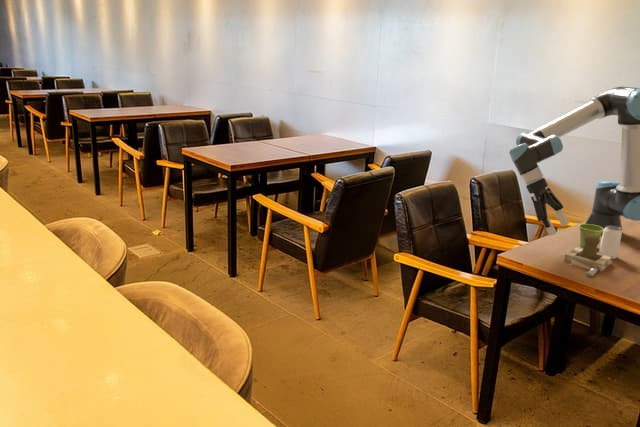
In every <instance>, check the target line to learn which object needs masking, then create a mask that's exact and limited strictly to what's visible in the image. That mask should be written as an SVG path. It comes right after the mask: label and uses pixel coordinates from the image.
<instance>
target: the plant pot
mask: <svg viewBox="0 0 640 427" xmlns="http://www.w3.org/2000/svg"><path fill="white" fill-rule="evenodd" d="M578 228H579V231H580V234H579V235H580V236H579V247H580V248H584V245H585V242H584V238H585V236H586V235H595V236H598V237H599V239H601V238H602V235H601V234H602V233H603V230H604V228H603V227H600V226H597V225H592V224H585V223H582V224H581V223H580V224H579V225H578Z"/></svg>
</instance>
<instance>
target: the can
mask: <svg viewBox="0 0 640 427" xmlns="http://www.w3.org/2000/svg"><path fill="white" fill-rule="evenodd" d="M621 230H622V231H621ZM622 236H623V228H622V229H621V228H620V227H617V226H612V225H607V226H606V227H605V229H604V230H603V235H601V238H600V239H601V240H600V243H599V244H600V245H599V249H598V253H602V254H606V255H609V256H613V257H612V260H615V259H617V258H618V253H619V249H620V245H621V244H620V243H621V240H622Z"/></svg>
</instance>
